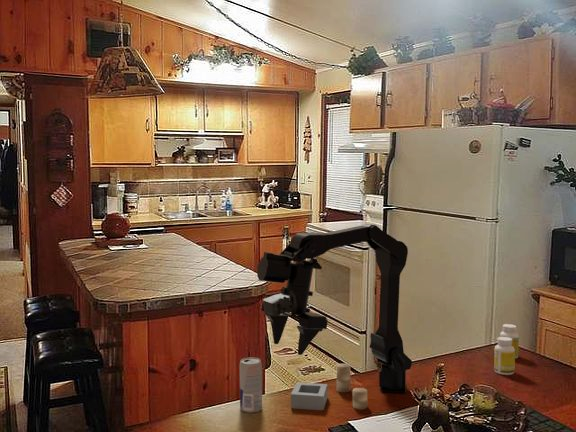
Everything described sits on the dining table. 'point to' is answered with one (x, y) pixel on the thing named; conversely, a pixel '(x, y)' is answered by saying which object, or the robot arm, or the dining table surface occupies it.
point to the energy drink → (250, 385)
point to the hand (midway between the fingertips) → (287, 349)
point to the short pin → (359, 398)
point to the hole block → (309, 396)
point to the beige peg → (343, 377)
